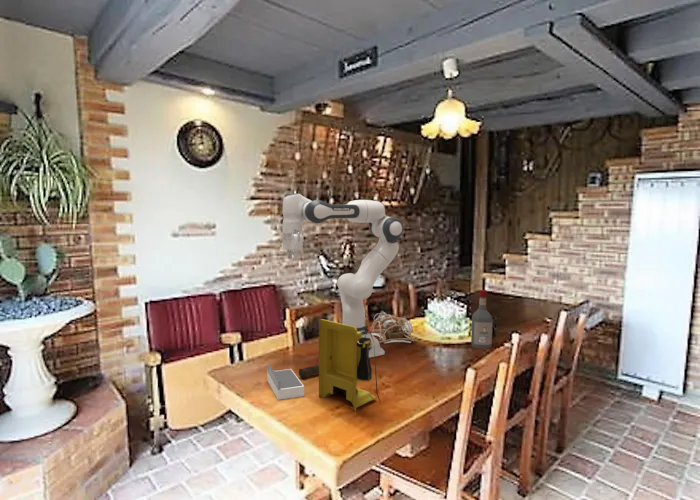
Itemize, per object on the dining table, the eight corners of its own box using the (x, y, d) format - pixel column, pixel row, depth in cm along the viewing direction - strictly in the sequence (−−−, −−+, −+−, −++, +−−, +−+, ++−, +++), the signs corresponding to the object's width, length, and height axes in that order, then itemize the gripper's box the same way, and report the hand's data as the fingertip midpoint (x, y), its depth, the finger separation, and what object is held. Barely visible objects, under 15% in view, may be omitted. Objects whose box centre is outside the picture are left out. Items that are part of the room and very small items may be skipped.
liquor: (492, 350, 225) (494, 292, 222) (474, 350, 225) (476, 292, 223) (487, 345, 234) (489, 289, 231) (470, 344, 234) (471, 288, 232)
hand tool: (302, 380, 182) (303, 369, 181) (297, 376, 185) (298, 365, 184) (340, 371, 193) (341, 361, 192) (335, 367, 196) (336, 358, 195)
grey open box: (291, 377, 185) (291, 361, 184) (304, 396, 166) (304, 378, 166) (267, 380, 181) (267, 364, 181) (278, 400, 163) (277, 382, 162)
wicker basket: (359, 346, 236) (359, 318, 233) (383, 325, 267) (384, 299, 264) (408, 356, 224) (409, 326, 221) (428, 332, 255) (429, 306, 252)
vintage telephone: (396, 406, 159) (398, 324, 156) (372, 419, 148) (373, 332, 146) (334, 383, 180) (334, 310, 177) (309, 393, 169) (309, 316, 167)
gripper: (306, 230, 191) (306, 262, 192) (293, 228, 209) (293, 257, 211) (292, 230, 188) (292, 262, 189) (280, 228, 207) (280, 257, 208)
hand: (292, 259), depth 200 cm, fingers open, 8 cm apart
